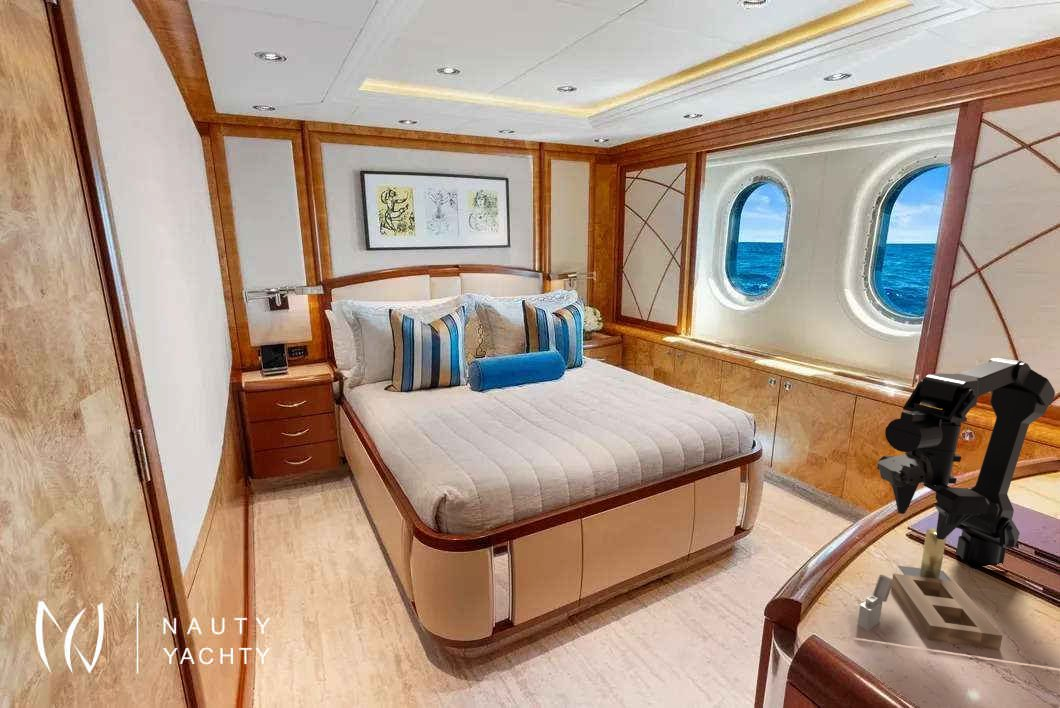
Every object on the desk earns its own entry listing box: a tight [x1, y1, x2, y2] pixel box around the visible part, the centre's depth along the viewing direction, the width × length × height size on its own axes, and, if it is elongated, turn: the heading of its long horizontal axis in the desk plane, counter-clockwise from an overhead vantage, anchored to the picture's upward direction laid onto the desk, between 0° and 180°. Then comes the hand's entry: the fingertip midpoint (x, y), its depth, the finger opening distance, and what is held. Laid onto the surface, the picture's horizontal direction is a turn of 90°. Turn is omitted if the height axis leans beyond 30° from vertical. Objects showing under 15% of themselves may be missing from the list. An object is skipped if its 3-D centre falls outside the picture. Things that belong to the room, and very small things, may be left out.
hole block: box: [891, 573, 1003, 651], centre depth 89 cm, size 10×14×3 cm
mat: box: [897, 565, 953, 581], centre depth 99 cm, size 8×7×1 cm
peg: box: [920, 528, 947, 579], centre depth 98 cm, size 3×3×10 cm
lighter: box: [857, 574, 893, 632], centre depth 87 cm, size 7×2×8 cm, turn 121°
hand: (919, 525), depth 93 cm, fingers open, 9 cm apart
